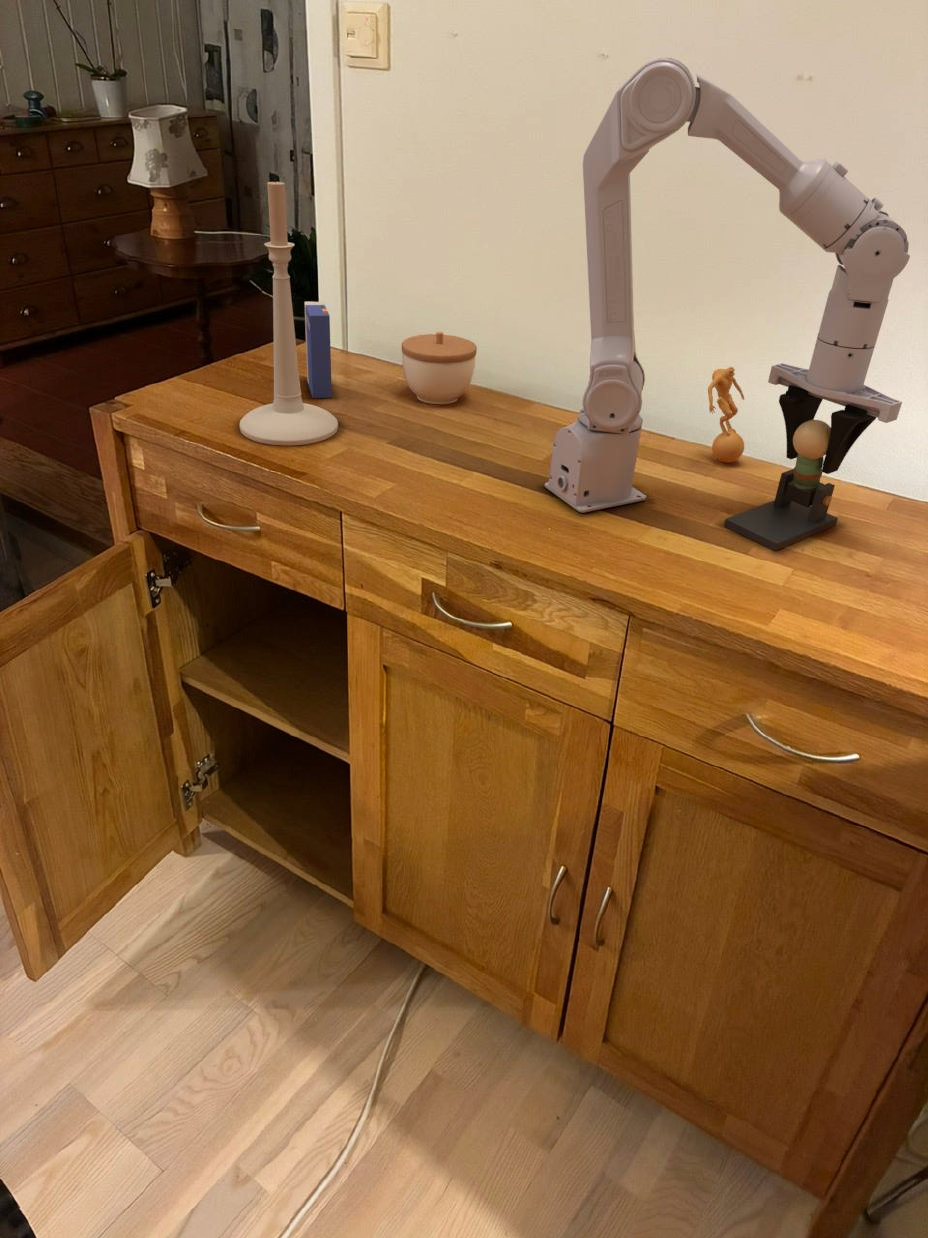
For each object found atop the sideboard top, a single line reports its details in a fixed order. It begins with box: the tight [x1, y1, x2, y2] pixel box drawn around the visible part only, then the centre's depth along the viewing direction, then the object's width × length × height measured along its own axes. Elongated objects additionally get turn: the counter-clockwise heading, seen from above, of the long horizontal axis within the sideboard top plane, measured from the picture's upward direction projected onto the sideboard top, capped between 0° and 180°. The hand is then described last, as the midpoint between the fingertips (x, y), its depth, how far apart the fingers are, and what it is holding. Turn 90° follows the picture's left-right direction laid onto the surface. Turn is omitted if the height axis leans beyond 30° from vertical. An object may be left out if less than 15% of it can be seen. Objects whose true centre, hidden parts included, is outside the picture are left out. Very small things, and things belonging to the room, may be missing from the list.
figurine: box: [707, 366, 745, 464], centre depth 116 cm, size 8×6×12 cm
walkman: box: [304, 301, 333, 399], centre depth 132 cm, size 8×3×12 cm, turn 14°
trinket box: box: [401, 331, 478, 405], centre depth 132 cm, size 11×11×9 cm
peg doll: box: [786, 419, 831, 508], centre depth 101 cm, size 4×4×10 cm
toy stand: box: [723, 468, 839, 552], centre depth 102 cm, size 12×7×5 cm, turn 128°
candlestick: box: [239, 178, 339, 446], centre depth 113 cm, size 13×13×30 cm
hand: (811, 463), depth 102 cm, fingers closed on peg doll, 4 cm apart
